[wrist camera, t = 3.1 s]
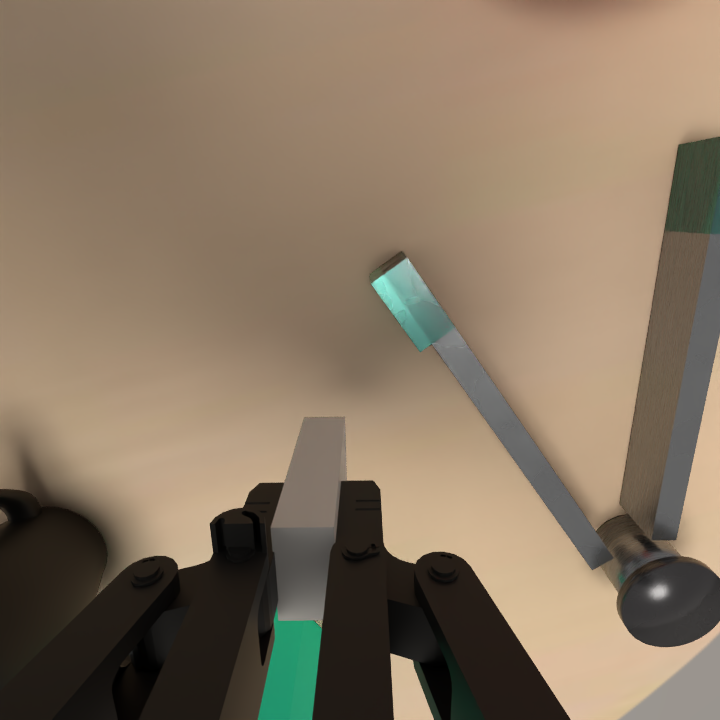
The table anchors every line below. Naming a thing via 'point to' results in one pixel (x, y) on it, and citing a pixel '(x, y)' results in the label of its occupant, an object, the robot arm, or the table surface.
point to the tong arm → (482, 395)
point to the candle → (292, 671)
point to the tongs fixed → (672, 419)
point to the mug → (42, 575)
